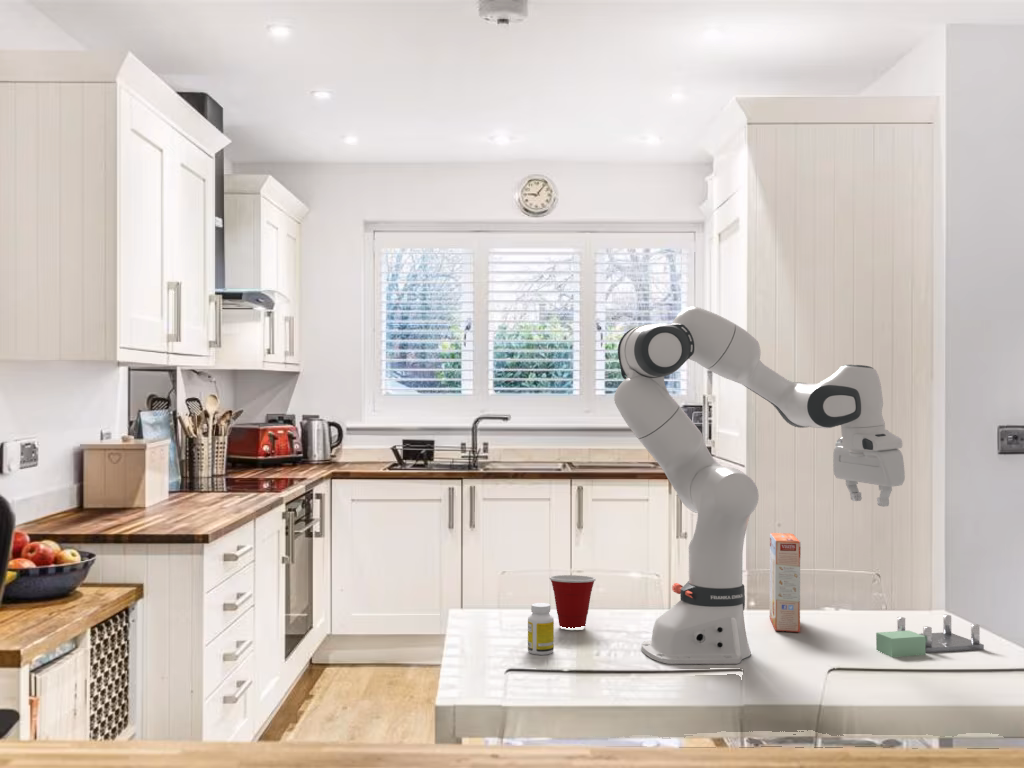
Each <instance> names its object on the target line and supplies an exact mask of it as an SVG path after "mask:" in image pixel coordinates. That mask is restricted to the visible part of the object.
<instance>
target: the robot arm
mask: <svg viewBox="0 0 1024 768" xmlns="http://www.w3.org/2000/svg"><path fill="white" fill-rule="evenodd" d="M617 345H618V346H617V359H618V362H619V366H620V371H621V373H620V374H621V377H622V378H623V380H622V381H621V383H620V384H619V385H618V387H617V388H616V390H615V393H614V397H613V399H614V400H613V401H614V404H615V406H616V408H617V409H618V412H619V413H620V415H621V417H622V419H623V421H624V422H625V423H626V424H627V426H628V428H629V429H630V431H632V433H633V435H635V437H636V438H637V439H638V440H639V442H640V443H641V444H642V445H643V447H644V448H645V449H646V451H647V452H648V453H649V454H650V455H651V456H652V458H653V459H654V460H655V461H656V463H657V464H658V465H659V467H660V468H661V470H662V471H663V473H664V474H665V477H666V478H667V480H668V481H669V483H670V484H671V486H672V488H673V490H674V491H675V493H676V494H677V497H678V498H679V501H681V503H682V504H683V505H684V506H685V507H686V508H688V509H689V510H690V511H692V512H693V513H697V519H696V524H695V525H696V526H695V530H694V534H693V536H692V539H691V540H690V541H689V544H688V581H687V582H686V583H684V585H682V584H680V583H678V582H674V583H673V585H672V586H671V591H672V592H674V593H676V594H677V595H680V596H679V597H680V600H679V601H678V602H677V603H675V604H674V605H673V606H672V607H670V608H669V609H668V610H666V611H665V612H664V613H663V614H661V615H660V616H658V618H656V620H655V621H654V623H653V628H652V633H651V640H647V641H643V642H642V643H641V647H640V649H641V651H642V653H643V654H644V655H646V656H647V657H649V658H650V659H652V660H655V661H657V662H659V663H663V664H668V665H670V664H672V665H673V664H674V665H677V664H678V665H679V664H681V665H683V664H685V665H686V664H687V665H690V664H692V665H693V664H694V665H695V664H696V665H697V664H699V665H701V664H703V665H705V664H706V665H710V664H712V665H714V664H719V665H720V664H721V665H723V664H725V665H727V664H729V665H732V664H735V665H736V664H740V663H741V662H742V660H743V659H747V658H748V657H750V656H751V654H752V653H751V652H752V651H751V648H750V646H749V641H748V637H747V631H746V625H745V624H746V623H745V614H744V613H745V612H744V611H745V607H746V604H745V603H746V596H745V594H746V593H745V590H746V589H745V584H743V563H744V561H743V559H744V558H743V556H744V555H743V553H744V552H743V551H744V544H745V543H744V542H745V537H746V533H747V529H748V524H749V521H750V517H751V516H752V514H753V513H754V512H755V510H756V508H757V506H758V503H759V489H758V486H757V485H756V482H754V480H753V479H752V478H751V477H750V476H748V475H747V474H746V473H745V472H743V471H741V470H740V469H738V468H736V467H735V468H734V467H730V466H723V465H721V464H720V463H719V462H717V461H716V459H714V457H713V456H712V454H711V453H710V450H709V449H708V447H707V444H706V443H705V441H704V437H703V434H702V432H701V430H700V429H699V428H698V427H697V426H696V424H695V423H694V422H693V420H692V419H691V418H690V417H689V416H688V414H687V413H686V412H685V411H684V409H683V408H682V407H681V406H680V405H679V403H678V402H677V401H676V400H675V399H674V398H673V396H671V394H670V392H669V390H668V389H667V386H666V383H665V377H667V376H670V375H672V374H674V373H675V372H677V371H678V370H679V369H680V368H681V367H682V366H683V365H684V364H685V363H686V362H687V361H688V360H690V361H693V362H695V363H697V364H698V365H700V366H702V367H703V368H705V369H707V370H708V371H710V372H712V373H713V374H715V375H718V376H720V377H722V378H724V379H726V380H729V381H733V382H734V383H737V384H740V385H742V386H743V387H745V388H746V389H748V390H750V391H751V392H753V393H754V394H755V395H758V396H759V397H761V398H763V400H766V401H767V402H768V403H770V404H771V405H772V406H773V407H774V409H776V410H777V412H778V413H779V415H780V416H781V417H782V419H783V420H784V421H785V422H786V423H787V424H789V425H791V426H792V427H795V428H800V429H804V428H813V429H814V428H815V429H832V428H835V427H838V426H840V430H841V431H840V433H841V437H838V439H837V440H836V442H835V447H834V449H833V455H832V456H833V457H832V458H833V459H832V463H833V464H832V467H833V469H832V470H833V475H834V476H835V478H836V479H839V480H843V481H844V480H845V486H846V487H847V489H848V492H849V495H850V501H853V502H861V501H862V499H863V497H862V492H861V491H859V488H858V484H859V483H863V484H869V485H875V486H878V491H880V493H879V497H877V498H876V502H877V506H879V507H889V506H890V499H889V498H890V496H891V494H892V492H893V488H894V487H900V486H903V484H904V482H905V477H906V473H905V472H906V471H905V462H904V456H903V453H902V451H901V450H900V449H902V448H903V440H902V438H901V437H900V436H897V435H896V434H894V433H892V432H890V431H889V430H888V429H886V422H885V419H884V417H883V406H884V401H883V398H884V397H883V391H882V386H881V380H880V376H879V373H878V371H877V370H876V369H875V368H874V367H871V366H869V365H865V364H864V365H863V364H862V365H861V364H843V365H841V366H839V368H838V369H837V370H836V371H835V372H834V373H833V374H831V375H830V376H828V377H826V378H824V379H823V380H821V381H818V383H807V382H799V381H798V382H797V381H796V382H795V381H793V380H792V381H791V380H789V379H787V378H785V377H784V376H783V375H781V374H780V373H778V372H776V371H775V370H773V369H772V368H770V367H769V366H767V365H765V364H764V363H763V362H762V360H761V353H762V352H761V347H760V343H759V341H758V340H757V338H755V337H754V336H753V335H752V334H751V333H749V332H748V331H746V329H744V328H742V327H741V326H739V325H738V324H736V323H734V322H732V321H731V320H729V319H727V318H725V317H723V316H721V315H718V314H717V313H714V312H712V311H709V310H707V309H705V308H701V307H698V306H689V307H686V308H684V309H682V310H681V311H680V312H679V313H678V314H677V315H676V316H675V318H674V319H673V320H672V323H645V324H642V325H638V326H636V327H633V328H630V329H628V331H626V332H625V333H623V335H622V337H621V338H620V340H619V342H618V344H617Z"/></svg>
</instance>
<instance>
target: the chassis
mask: <svg viewBox="0 0 1024 768" xmlns="http://www.w3.org/2000/svg"><path fill="white" fill-rule="evenodd" d="M942 617H943V618H942V620H943V623H942V625H943V632H932V631H933V630H932V627H931V626H925V625H924V626H922V627H923V629H922V631H923V633H919V634H920V635H923V636H925V654H932V653H945V652H949V653H950V652H962V651H978V650H979V651H981V650H984V649H985V645H984V644H983V643H981V640H980V639H981V638H980V636H981V635H980V632H981V631H980V624H977V623H971V624H970V637H971V638H970V639H969V638H967V637H964V636H961V635H958V634H956V633H952V615H951V614H942ZM896 623H897V625H896V626H897V627H896V628H897V629H896V631H906V617H903V616H898V617H897V620H896Z"/></svg>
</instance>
